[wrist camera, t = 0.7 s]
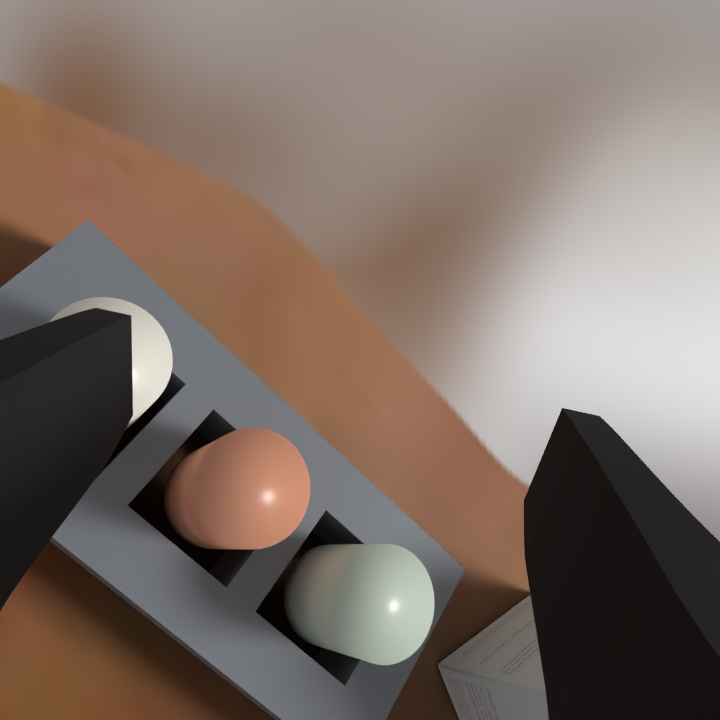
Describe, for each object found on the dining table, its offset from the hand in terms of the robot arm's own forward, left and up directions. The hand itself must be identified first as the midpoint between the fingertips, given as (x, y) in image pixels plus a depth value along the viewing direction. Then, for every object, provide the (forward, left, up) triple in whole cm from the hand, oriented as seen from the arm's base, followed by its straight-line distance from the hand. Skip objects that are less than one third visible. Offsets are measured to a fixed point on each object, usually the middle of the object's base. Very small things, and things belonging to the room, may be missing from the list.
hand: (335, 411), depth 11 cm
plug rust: (+1, -2, -15) cm, 15 cm away
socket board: (+1, -2, -18) cm, 18 cm away
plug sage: (+1, -8, -15) cm, 17 cm away
